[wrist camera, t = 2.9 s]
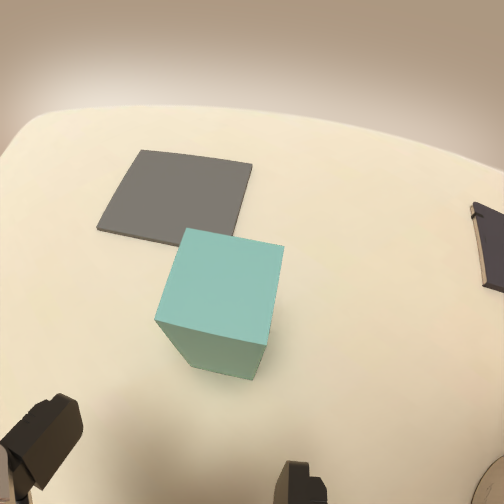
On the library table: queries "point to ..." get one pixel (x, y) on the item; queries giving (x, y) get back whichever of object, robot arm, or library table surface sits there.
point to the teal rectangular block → (221, 301)
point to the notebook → (490, 244)
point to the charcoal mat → (176, 197)
